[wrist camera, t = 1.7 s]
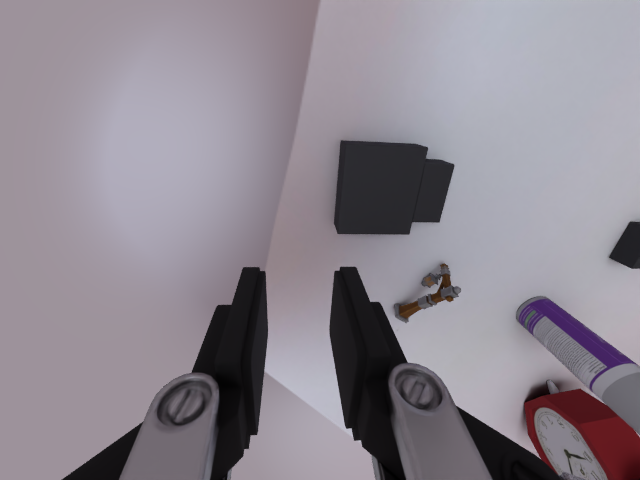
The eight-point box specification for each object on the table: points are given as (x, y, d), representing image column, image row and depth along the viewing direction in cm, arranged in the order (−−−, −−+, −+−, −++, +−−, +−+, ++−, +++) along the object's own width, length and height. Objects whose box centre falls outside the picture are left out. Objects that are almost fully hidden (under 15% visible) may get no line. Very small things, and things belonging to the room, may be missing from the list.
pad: (340, 140, 24) (345, 143, 22) (444, 145, 25) (459, 148, 23) (333, 223, 27) (337, 234, 25) (424, 225, 28) (436, 235, 26)
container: (558, 298, 35) (723, 417, 22) (538, 325, 37) (678, 450, 24) (528, 294, 34) (680, 414, 21) (509, 322, 36) (637, 449, 23)
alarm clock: (532, 374, 42) (713, 574, 24) (586, 363, 42) (806, 555, 24) (514, 428, 48) (646, 617, 30) (561, 419, 48) (719, 601, 31)
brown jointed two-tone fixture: (458, 264, 30) (467, 299, 27) (403, 292, 35) (406, 324, 32) (447, 256, 29) (455, 291, 26) (393, 286, 35) (395, 319, 31)
